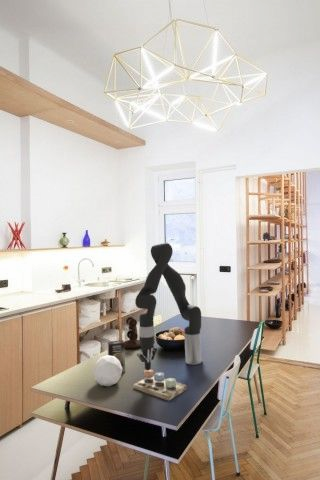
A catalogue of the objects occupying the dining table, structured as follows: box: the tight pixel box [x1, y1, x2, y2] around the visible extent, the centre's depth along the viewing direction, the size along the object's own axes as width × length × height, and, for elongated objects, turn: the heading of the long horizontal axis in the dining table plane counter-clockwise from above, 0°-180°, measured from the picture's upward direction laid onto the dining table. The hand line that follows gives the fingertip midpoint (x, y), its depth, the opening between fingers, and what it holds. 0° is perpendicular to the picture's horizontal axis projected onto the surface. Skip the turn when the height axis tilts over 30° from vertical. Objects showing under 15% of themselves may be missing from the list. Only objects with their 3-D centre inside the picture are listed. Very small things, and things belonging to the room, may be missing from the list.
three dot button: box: [154, 372, 166, 382], centre depth 161 cm, size 5×5×2 cm
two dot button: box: [143, 368, 155, 379], centre depth 165 cm, size 5×5×2 cm
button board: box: [132, 377, 188, 401], centre depth 161 cm, size 14×22×3 cm, turn 50°
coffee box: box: [107, 339, 126, 373], centre depth 187 cm, size 9×6×16 cm
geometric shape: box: [92, 354, 123, 387], centre depth 169 cm, size 14×15×15 cm
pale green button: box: [165, 377, 177, 388], centre depth 156 cm, size 5×5×2 cm
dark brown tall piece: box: [123, 316, 141, 351], centre depth 229 cm, size 15×15×20 cm
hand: (147, 369), depth 165 cm, fingers closed
